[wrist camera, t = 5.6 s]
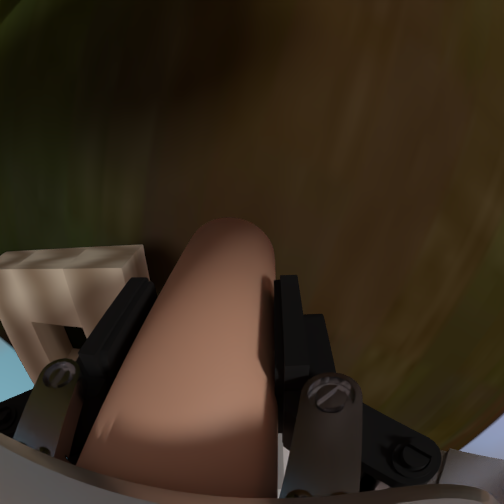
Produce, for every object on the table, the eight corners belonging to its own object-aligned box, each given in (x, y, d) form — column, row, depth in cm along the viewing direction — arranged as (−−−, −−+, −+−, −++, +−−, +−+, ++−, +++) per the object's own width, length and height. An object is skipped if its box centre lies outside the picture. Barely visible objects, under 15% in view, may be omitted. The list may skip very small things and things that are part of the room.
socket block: (143, 244, 22) (121, 268, 18) (179, 393, 28) (171, 423, 25) (6, 251, 23) (-20, 269, 19) (57, 375, 29) (42, 397, 25)
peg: (273, 215, 13) (277, 555, 2) (275, 296, 15) (274, 571, 4) (181, 219, 13) (14, 486, 2) (193, 296, 15) (111, 544, 4)
